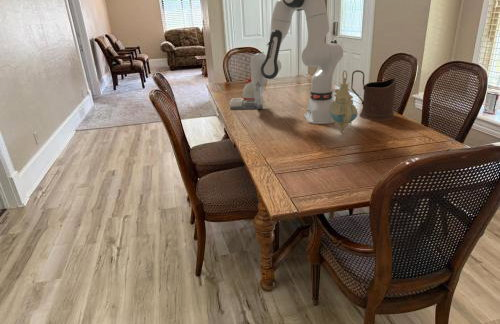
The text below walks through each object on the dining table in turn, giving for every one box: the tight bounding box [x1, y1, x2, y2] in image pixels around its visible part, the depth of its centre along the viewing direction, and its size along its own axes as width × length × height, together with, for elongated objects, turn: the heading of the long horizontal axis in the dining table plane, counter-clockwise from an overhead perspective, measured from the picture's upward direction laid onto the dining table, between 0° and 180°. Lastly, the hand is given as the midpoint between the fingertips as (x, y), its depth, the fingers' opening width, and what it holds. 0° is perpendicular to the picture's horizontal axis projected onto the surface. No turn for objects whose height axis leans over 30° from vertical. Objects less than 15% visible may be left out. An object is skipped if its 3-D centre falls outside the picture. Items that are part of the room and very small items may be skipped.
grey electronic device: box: [229, 97, 257, 110], centre depth 222 cm, size 12×16×5 cm
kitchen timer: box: [241, 77, 255, 101], centre depth 240 cm, size 14×14×15 cm
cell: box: [256, 95, 264, 110], centre depth 213 cm, size 4×4×9 cm
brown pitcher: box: [350, 69, 397, 122], centre depth 187 cm, size 18×24×25 cm
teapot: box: [329, 69, 359, 134], centre depth 163 cm, size 24×12×30 cm, turn 2°
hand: (259, 103), depth 213 cm, fingers closed on cell, 4 cm apart
